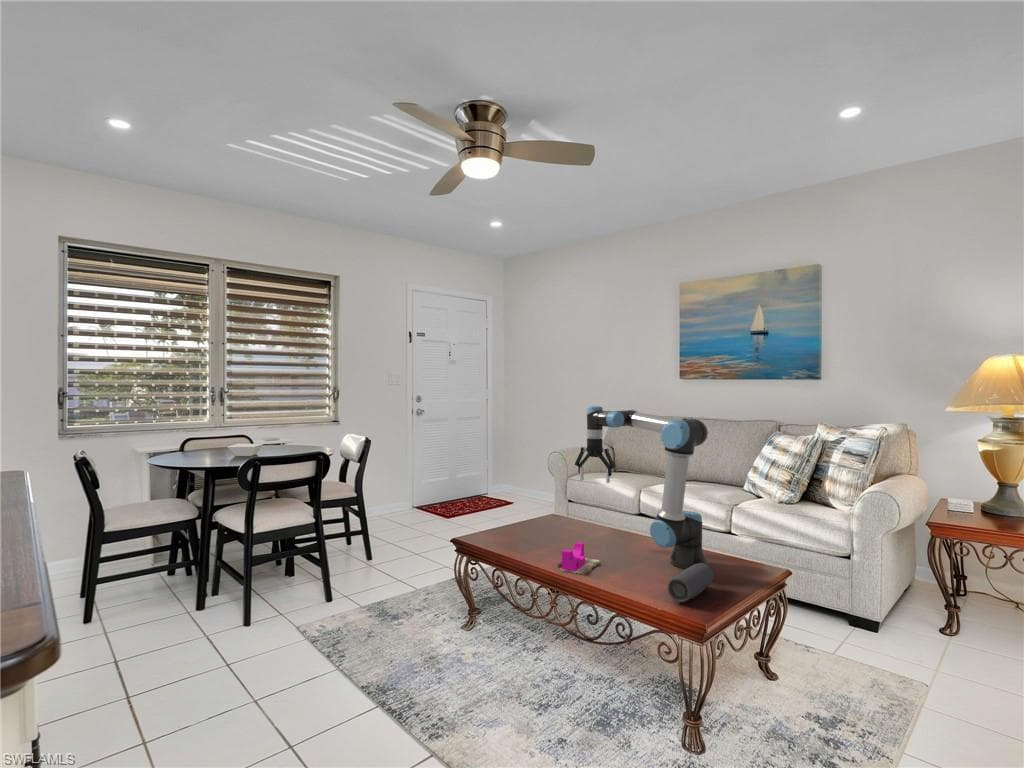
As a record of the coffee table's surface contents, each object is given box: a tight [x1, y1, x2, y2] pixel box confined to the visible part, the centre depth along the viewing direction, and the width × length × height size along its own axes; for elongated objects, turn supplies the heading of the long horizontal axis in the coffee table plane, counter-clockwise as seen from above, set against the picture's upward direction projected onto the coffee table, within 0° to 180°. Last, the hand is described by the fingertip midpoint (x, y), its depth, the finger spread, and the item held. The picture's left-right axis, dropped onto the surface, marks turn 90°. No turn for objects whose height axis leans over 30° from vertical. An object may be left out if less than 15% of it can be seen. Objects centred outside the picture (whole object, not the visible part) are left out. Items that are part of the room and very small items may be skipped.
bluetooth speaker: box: [667, 563, 714, 603], centre depth 202 cm, size 23×9×10 cm, turn 139°
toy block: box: [561, 541, 586, 571], centre depth 233 cm, size 15×6×8 cm, turn 149°
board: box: [557, 557, 601, 576], centre depth 235 cm, size 12×18×2 cm, turn 149°
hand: (594, 481), depth 263 cm, fingers open, 13 cm apart
